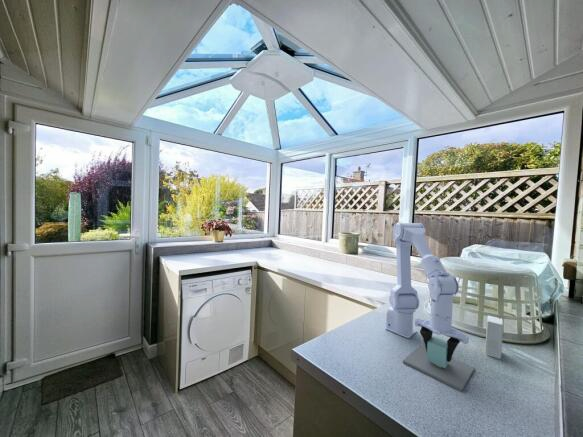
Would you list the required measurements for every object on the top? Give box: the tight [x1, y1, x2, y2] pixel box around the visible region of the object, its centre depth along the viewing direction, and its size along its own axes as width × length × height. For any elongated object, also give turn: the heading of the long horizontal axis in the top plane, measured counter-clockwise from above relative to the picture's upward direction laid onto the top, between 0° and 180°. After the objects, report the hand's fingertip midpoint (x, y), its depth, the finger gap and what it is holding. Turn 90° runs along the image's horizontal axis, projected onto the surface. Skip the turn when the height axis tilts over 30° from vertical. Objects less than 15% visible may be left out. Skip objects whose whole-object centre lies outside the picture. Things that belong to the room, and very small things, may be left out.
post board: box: [402, 344, 476, 393], centre depth 77 cm, size 16×14×6 cm
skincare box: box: [484, 315, 504, 360], centre depth 85 cm, size 6×4×12 cm
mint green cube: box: [427, 335, 450, 368], centre depth 77 cm, size 5×5×6 cm
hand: (438, 355), depth 77 cm, fingers closed on mint green cube, 5 cm apart
